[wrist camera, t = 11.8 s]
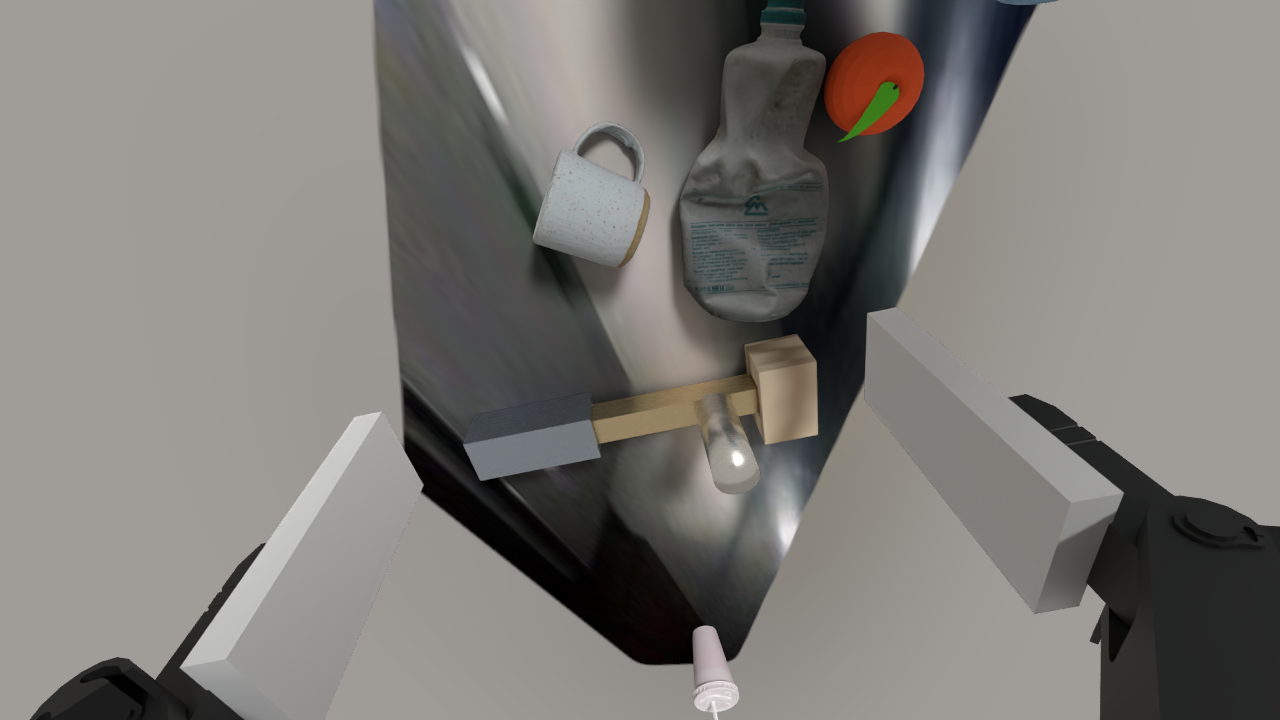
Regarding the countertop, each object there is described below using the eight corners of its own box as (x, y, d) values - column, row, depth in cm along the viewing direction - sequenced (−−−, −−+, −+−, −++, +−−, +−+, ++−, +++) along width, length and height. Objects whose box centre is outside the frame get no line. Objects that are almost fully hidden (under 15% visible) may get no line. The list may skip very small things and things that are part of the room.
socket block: (751, 412, 58) (765, 444, 53) (744, 344, 53) (758, 372, 48) (799, 403, 58) (817, 434, 53) (796, 333, 53) (816, 361, 48)
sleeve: (489, 449, 58) (480, 480, 54) (473, 415, 56) (463, 444, 51) (600, 427, 58) (600, 457, 53) (590, 391, 55) (589, 419, 51)
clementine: (846, 158, 45) (885, 172, 38) (785, 113, 43) (816, 121, 36) (912, 67, 41) (967, 67, 35) (850, 14, 39) (896, 5, 33)
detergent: (797, 304, 51) (869, 3, 39) (817, 338, 45) (910, -7, 32) (667, 296, 51) (696, -9, 38) (670, 329, 45) (704, -21, 32)
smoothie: (682, 622, 77) (698, 727, 65) (725, 618, 77) (748, 721, 65) (684, 647, 80) (699, 751, 68) (725, 642, 80) (747, 745, 68)
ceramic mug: (621, 257, 48) (625, 286, 41) (535, 227, 46) (525, 253, 39) (664, 143, 43) (676, 155, 37) (571, 104, 41) (566, 109, 35)
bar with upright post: (573, 435, 57) (567, 526, 45) (564, 406, 55) (554, 494, 43) (779, 394, 56) (824, 477, 44) (777, 363, 54) (823, 442, 42)
